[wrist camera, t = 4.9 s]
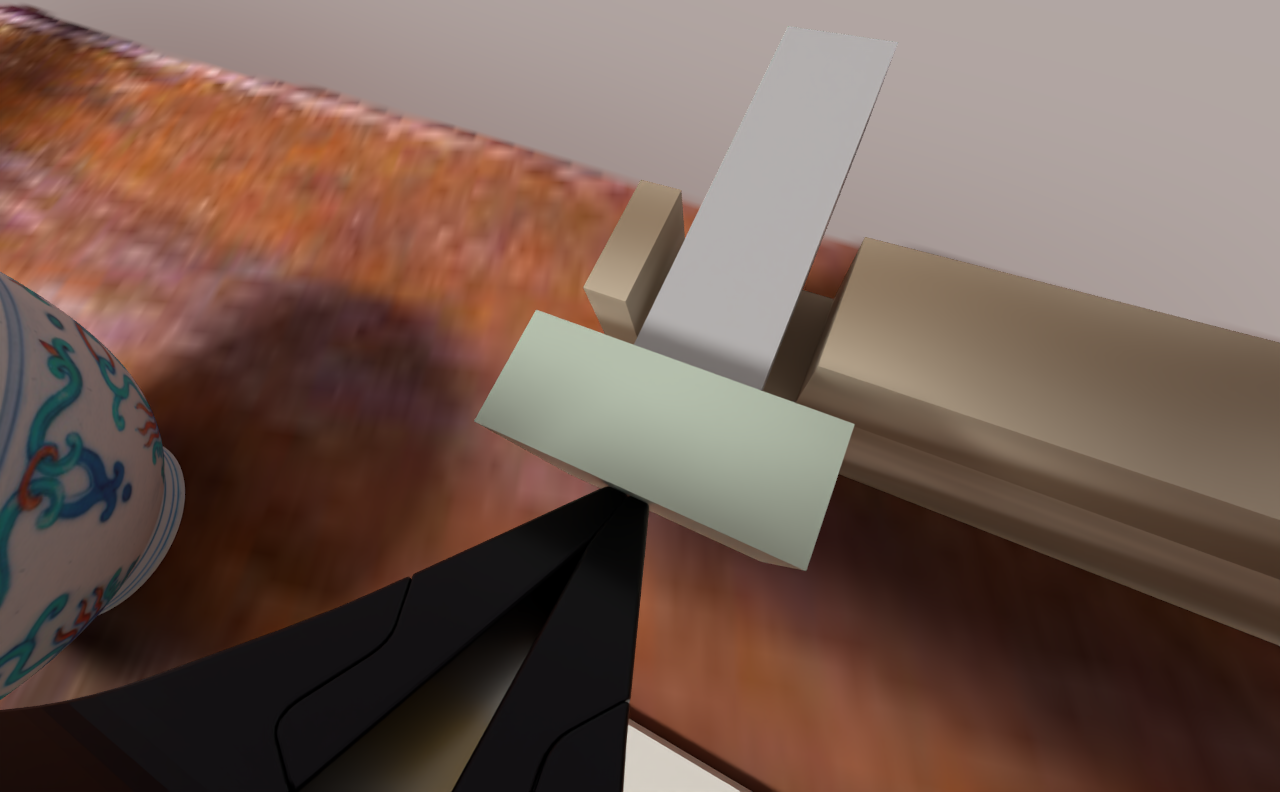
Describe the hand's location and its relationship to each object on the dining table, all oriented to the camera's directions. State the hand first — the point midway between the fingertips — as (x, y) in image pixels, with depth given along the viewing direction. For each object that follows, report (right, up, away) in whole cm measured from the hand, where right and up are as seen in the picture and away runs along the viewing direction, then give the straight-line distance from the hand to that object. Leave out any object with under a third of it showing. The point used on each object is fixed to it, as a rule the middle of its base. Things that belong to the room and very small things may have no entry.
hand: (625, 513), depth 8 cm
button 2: (+3, +4, +4) cm, 7 cm away
